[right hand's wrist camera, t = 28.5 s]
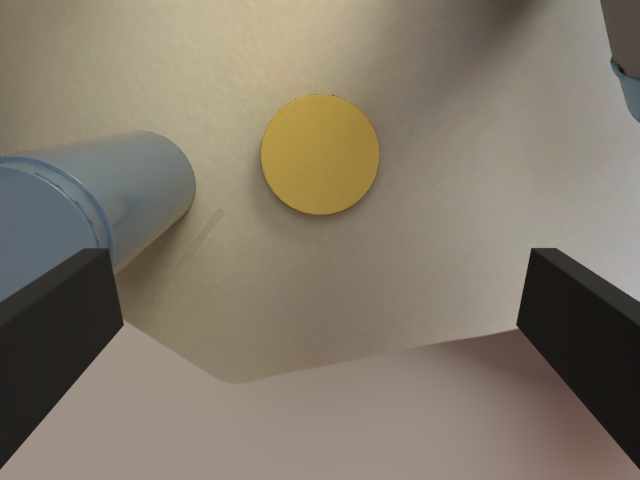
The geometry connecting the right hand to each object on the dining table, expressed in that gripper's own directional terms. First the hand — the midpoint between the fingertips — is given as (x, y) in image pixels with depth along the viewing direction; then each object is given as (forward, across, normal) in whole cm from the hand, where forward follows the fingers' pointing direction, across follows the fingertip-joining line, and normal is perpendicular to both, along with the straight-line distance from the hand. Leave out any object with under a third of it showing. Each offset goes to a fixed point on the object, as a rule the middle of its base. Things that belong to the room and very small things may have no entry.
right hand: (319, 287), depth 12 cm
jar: (+30, +18, +3) cm, 35 cm away
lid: (+28, 0, 0) cm, 28 cm away
